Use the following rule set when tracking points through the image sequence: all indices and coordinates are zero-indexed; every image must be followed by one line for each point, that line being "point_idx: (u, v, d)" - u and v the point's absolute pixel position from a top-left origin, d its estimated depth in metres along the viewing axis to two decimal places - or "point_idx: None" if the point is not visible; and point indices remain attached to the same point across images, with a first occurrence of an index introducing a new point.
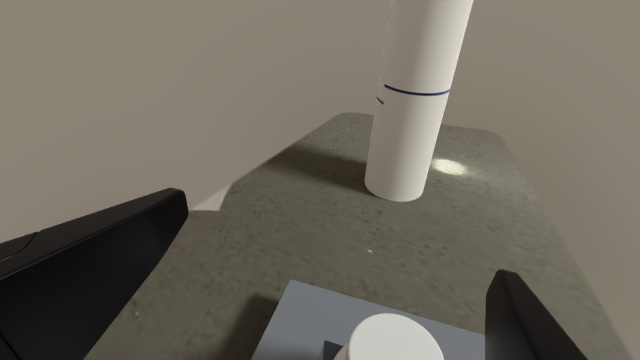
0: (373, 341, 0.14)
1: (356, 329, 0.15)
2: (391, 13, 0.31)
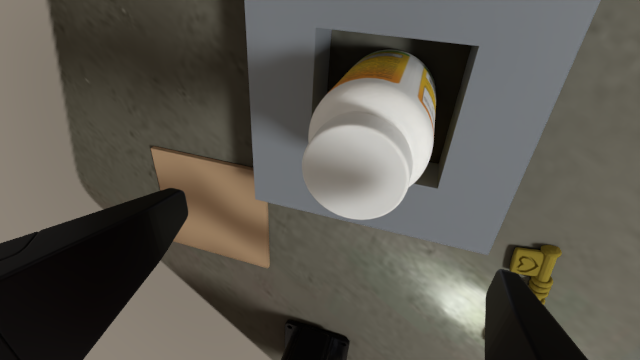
0: (327, 164, 0.12)
1: (306, 153, 0.12)
2: None
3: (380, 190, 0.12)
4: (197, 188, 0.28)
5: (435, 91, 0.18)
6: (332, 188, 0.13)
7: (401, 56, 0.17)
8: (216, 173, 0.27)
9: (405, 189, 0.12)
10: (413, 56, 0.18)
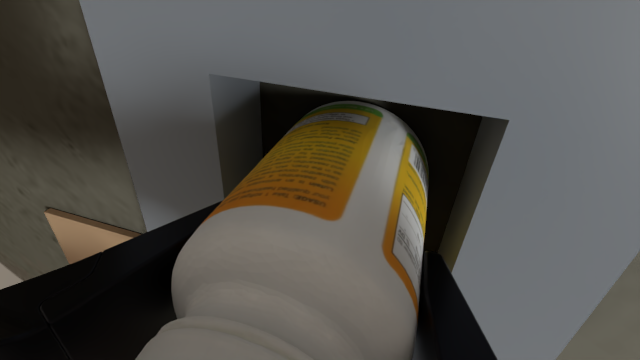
0: None
1: None
2: None
3: None
4: None
5: (426, 175, 0.11)
6: None
7: (366, 120, 0.10)
8: None
9: None
10: (389, 115, 0.11)
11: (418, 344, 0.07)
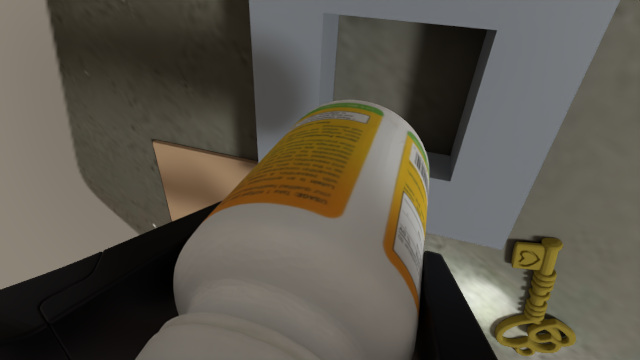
0: None
1: None
2: None
3: None
4: (200, 182, 0.28)
5: (427, 174, 0.11)
6: None
7: (367, 119, 0.10)
8: (219, 167, 0.26)
9: None
10: (390, 113, 0.11)
11: (418, 344, 0.07)
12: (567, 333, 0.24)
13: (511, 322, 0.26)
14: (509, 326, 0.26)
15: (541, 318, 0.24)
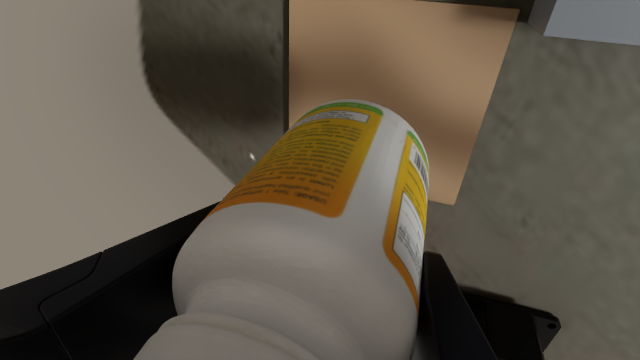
0: None
1: None
2: None
3: None
4: (362, 63, 0.17)
5: (427, 173, 0.11)
6: None
7: (366, 118, 0.10)
8: (411, 25, 0.15)
9: None
10: (389, 113, 0.11)
11: (418, 344, 0.07)
12: None
13: None
14: None
15: None
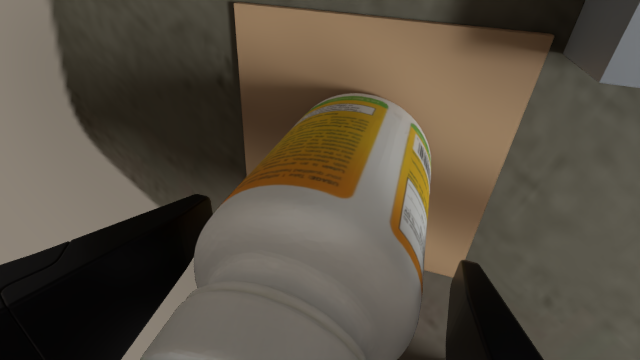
0: None
1: None
2: None
3: None
4: None
5: (429, 164, 0.11)
6: None
7: (372, 111, 0.10)
8: (398, 54, 0.11)
9: None
10: (394, 106, 0.11)
11: (462, 358, 0.07)
12: None
13: None
14: None
15: None
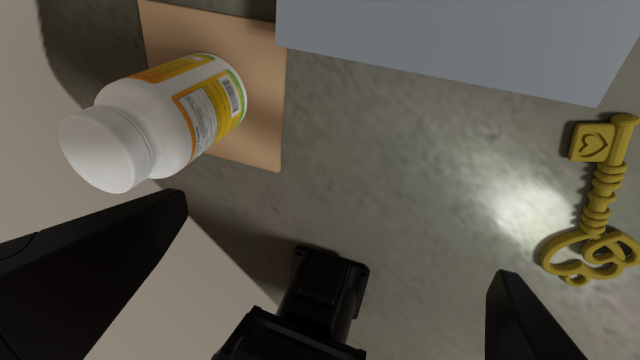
0: (75, 147, 0.15)
1: (59, 137, 0.15)
2: None
3: (116, 169, 0.15)
4: None
5: (235, 91, 0.21)
6: (86, 166, 0.16)
7: (201, 60, 0.20)
8: (221, 32, 0.21)
9: (131, 169, 0.15)
10: (219, 60, 0.21)
11: None
12: (635, 247, 0.20)
13: (562, 240, 0.21)
14: (560, 246, 0.21)
15: (602, 230, 0.20)
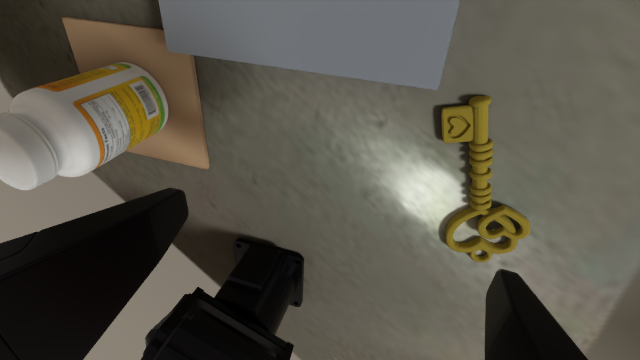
0: None
1: None
2: None
3: (20, 167, 0.18)
4: None
5: (151, 95, 0.23)
6: None
7: (115, 68, 0.22)
8: (135, 42, 0.23)
9: (31, 167, 0.17)
10: (136, 68, 0.23)
11: None
12: (518, 220, 0.21)
13: (458, 218, 0.22)
14: (456, 223, 0.23)
15: (487, 205, 0.21)
